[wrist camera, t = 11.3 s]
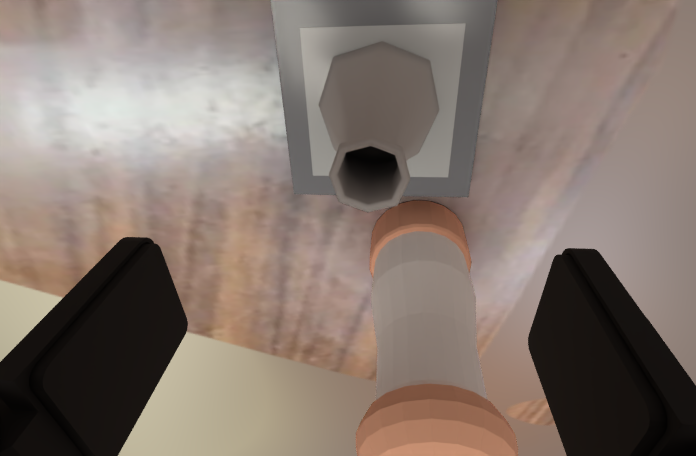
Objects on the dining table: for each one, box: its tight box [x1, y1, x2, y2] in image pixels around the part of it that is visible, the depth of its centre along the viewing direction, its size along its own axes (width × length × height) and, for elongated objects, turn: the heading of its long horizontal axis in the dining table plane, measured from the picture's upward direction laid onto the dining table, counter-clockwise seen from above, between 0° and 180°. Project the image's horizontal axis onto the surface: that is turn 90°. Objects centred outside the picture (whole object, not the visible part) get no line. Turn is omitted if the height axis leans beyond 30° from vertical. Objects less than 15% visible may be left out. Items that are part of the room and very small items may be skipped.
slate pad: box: [270, 0, 498, 197], centre depth 25 cm, size 12×12×2 cm
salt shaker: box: [356, 200, 518, 456], centre depth 23 cm, size 7×7×19 cm
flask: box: [319, 41, 439, 212], centre depth 20 cm, size 7×7×10 cm
